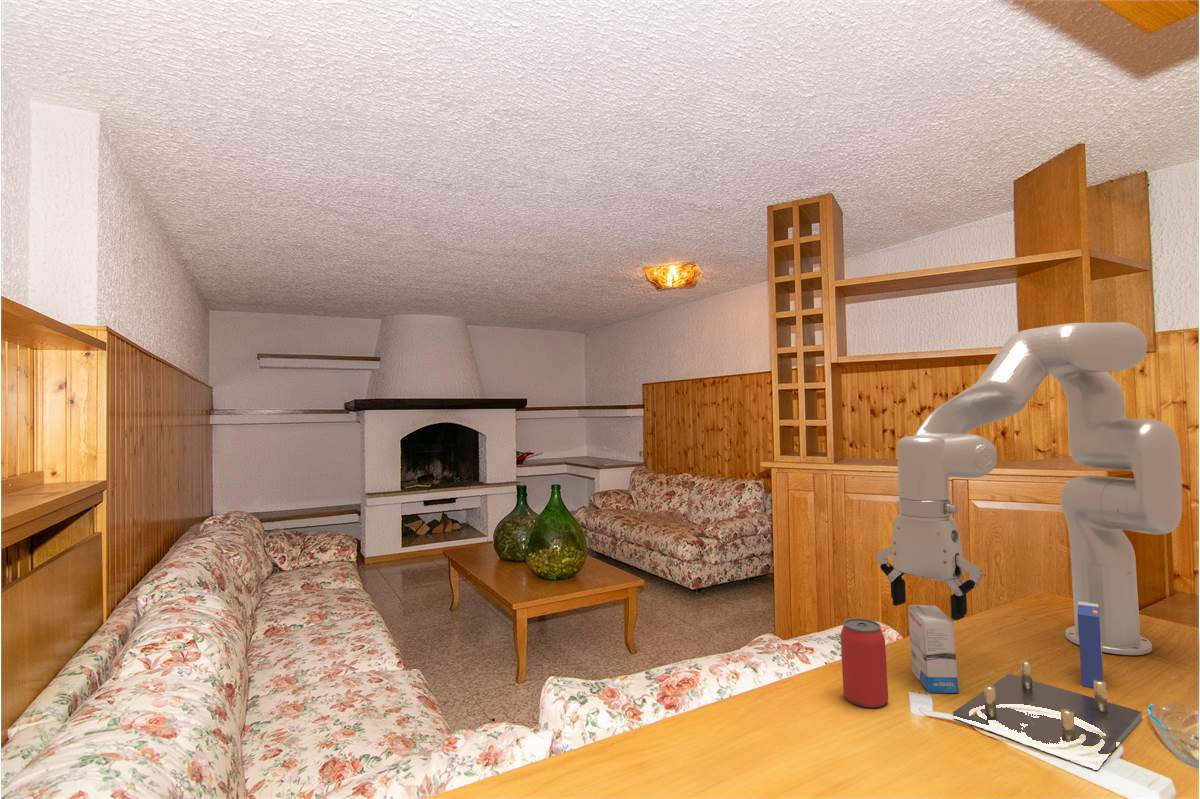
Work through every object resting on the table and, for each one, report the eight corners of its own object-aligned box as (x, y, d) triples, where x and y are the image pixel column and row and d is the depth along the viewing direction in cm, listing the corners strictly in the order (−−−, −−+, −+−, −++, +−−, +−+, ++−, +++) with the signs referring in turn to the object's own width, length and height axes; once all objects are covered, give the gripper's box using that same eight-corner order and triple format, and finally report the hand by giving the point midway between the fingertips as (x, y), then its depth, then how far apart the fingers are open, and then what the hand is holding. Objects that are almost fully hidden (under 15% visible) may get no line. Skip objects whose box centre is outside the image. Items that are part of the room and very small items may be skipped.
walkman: (1104, 690, 96) (1099, 614, 96) (1081, 685, 98) (1077, 611, 98) (1103, 672, 102) (1098, 601, 102) (1082, 668, 104) (1078, 598, 104)
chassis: (1009, 679, 101) (1007, 649, 101) (1142, 718, 87) (1139, 683, 87) (953, 718, 89) (951, 684, 89) (1096, 771, 76) (1094, 730, 76)
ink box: (960, 694, 97) (955, 621, 97) (926, 693, 98) (922, 620, 98) (941, 672, 105) (937, 604, 105) (910, 670, 106) (906, 603, 106)
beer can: (888, 693, 98) (884, 619, 98) (888, 712, 92) (884, 633, 92) (844, 687, 101) (840, 615, 101) (842, 705, 95) (838, 628, 95)
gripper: (990, 512, 97) (994, 619, 97) (886, 501, 111) (889, 595, 111) (969, 517, 93) (973, 630, 92) (863, 505, 107) (867, 603, 106)
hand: (927, 610), depth 101 cm, fingers open, 9 cm apart
